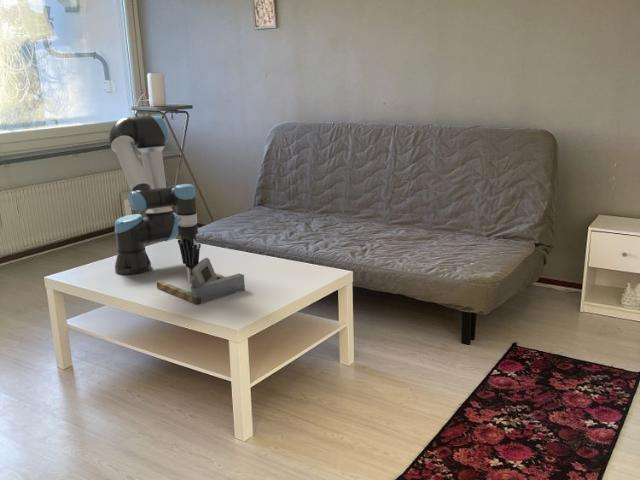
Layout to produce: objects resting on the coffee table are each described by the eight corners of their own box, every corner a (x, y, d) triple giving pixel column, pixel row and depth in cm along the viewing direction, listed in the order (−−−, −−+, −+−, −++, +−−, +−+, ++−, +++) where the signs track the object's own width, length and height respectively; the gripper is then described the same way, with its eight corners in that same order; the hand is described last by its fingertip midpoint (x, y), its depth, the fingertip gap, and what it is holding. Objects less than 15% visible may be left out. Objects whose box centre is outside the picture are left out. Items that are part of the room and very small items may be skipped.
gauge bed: (156, 287, 250) (156, 281, 250) (203, 274, 265) (203, 268, 264) (196, 304, 231) (196, 297, 230) (244, 289, 245) (244, 283, 245)
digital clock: (204, 296, 239) (203, 269, 236) (183, 294, 242) (182, 267, 239) (225, 283, 254) (223, 257, 251) (205, 281, 257) (203, 255, 254)
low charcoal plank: (192, 302, 233) (190, 287, 231) (240, 287, 247) (239, 273, 246) (196, 304, 231) (195, 289, 229) (244, 289, 245) (244, 274, 244)
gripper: (170, 223, 247) (174, 281, 254) (188, 229, 238) (193, 288, 244) (186, 220, 252) (190, 276, 259) (205, 225, 243) (209, 283, 249)
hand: (192, 282), depth 251 cm, fingers closed
